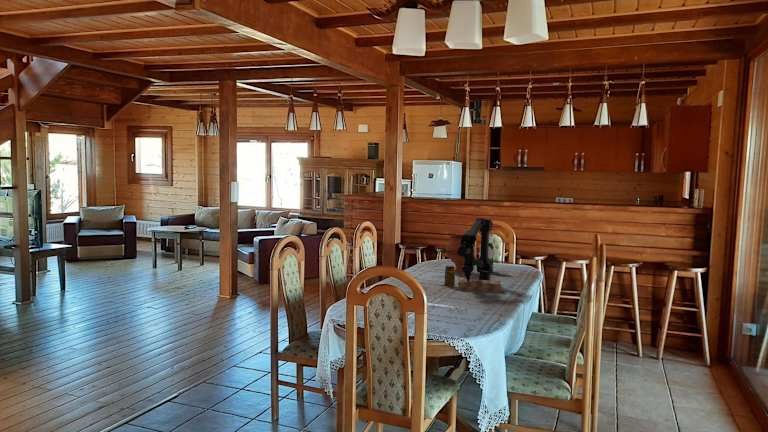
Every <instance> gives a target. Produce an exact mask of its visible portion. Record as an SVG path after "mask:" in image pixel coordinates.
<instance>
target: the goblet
mask: <svg viewBox="0 0 768 432" xmlns="http://www.w3.org/2000/svg"><path fill="white" fill-rule="evenodd" d="M463 235H464V234H462V235H461V234H457V235H455V234H454V235H450V236H449V237H450V239H449V240H448V243H447V246H446V250H445V254H446V256H447V257H448V259H449V260H450V261H451V262H452V263H454V271H455V274H465V273H464V271H462V267H463V266H464V256H463V257H461V256H459V255H458V253H457V250H458V248H459V247H461V245H460V242H461V239H462V236H463Z"/></svg>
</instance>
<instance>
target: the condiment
mask: <svg viewBox="0 0 768 432" xmlns="http://www.w3.org/2000/svg"><path fill="white" fill-rule="evenodd" d="M454 270H455V265H454V266H453V265H446V266H445V271H444V284H439V286H440V287H443V288H453V287H456V285H455V280H456V273H455V271H454Z"/></svg>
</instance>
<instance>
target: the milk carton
mask: <svg viewBox="0 0 768 432" xmlns="http://www.w3.org/2000/svg"><path fill="white" fill-rule="evenodd" d="M478 247H479V253H480V252H481V245H479V246H478ZM494 250H495V246H494V245H493V242H489V245H488V258H489V259H490V264H491V266H492V269H493V270H494Z"/></svg>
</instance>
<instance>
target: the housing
mask: <svg viewBox="0 0 768 432" xmlns="http://www.w3.org/2000/svg"><path fill="white" fill-rule="evenodd" d="M464 280H467V279H466V278H459V280H458V283H457V290H458V291H465V292H483V293H484V292H485V293H501V280H493V281H494V283H487V281H491V279H490V280H479V279H471V278H470V279H469V280H472V282H465V281H464Z"/></svg>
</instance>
